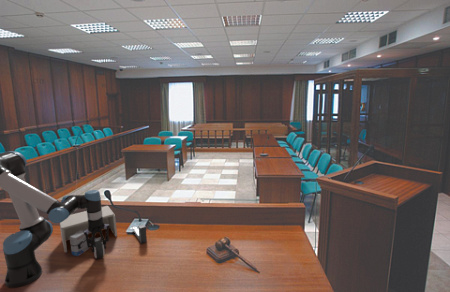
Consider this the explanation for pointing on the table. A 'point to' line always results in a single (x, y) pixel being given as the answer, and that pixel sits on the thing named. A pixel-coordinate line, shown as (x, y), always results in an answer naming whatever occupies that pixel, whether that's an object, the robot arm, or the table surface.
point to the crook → (98, 247)
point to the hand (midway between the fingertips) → (99, 255)
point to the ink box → (78, 243)
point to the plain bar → (140, 233)
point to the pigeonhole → (85, 224)
